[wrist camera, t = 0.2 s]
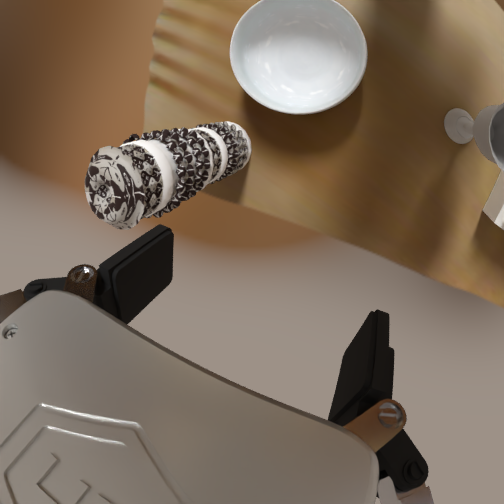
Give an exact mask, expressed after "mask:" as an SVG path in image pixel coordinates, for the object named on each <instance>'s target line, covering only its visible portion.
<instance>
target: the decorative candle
mask: <svg viewBox="0 0 504 504" xmlns="http://www.w3.org/2000/svg"><path fill="white" fill-rule="evenodd" d="M154 138H156V139H154ZM135 139H137V140H136V141H134V142H132V141H133V140H135ZM145 140H146V141H145ZM251 151H252V149H251V140H250V138H249V136H248V134H247V133H246V131H245V130H244V129H243V128H242V127H240V126H239V125H238V124H235V123H232V122H229V121H228V122H216V123H215V124H214V123H210V124H204V125H197V126H196V128H191V129H187V128H184V127H183V128H181V129H177V128H174V129H172V130H171V131H170V130H167V129H163V130H162V131H161V132H160V131H158V130H157V131H152V132H151V133H150V134H149V133H143V134H142V137H141V138H139V136H138V135H137V134H132V135H131V136H130V138H129V139H127V140H125V141H124V142H123V144H122V145H121V146H120V147H118V148H115V147H112V146H107V147H104V148H101V149H99V150H98V151H97V152H96V153H95V154H94V156H93V157H92V158H91V162H90V165H89V168H88V171H87V174H86V177H85V192H86V197H87V201H88V203H89V205H90V207H91V209H92V211H93V212H94V213H95V214H96V215H97V216H98V218H99V219H101V220H103V221H105V222H106V223H108V224H110V225H112V226H113V227H115V228H117V229H127V230H129V229H130V228H132V227H133V226H135V225H136V224H138V222H139V220H140V219H142V218H144V217H145V218H150V217H151V216H152V215H154V216H155V217H161V216H162V215H163V213H164V212H165V213H168V212H171V211H172V210H173V208H177V207H178V206H179V205H180V203H181V201H185V200H188V199H189V198H190V197H193V196H195V195H196V192H198V191H200V190H202V189H203V188H205V186H206V185H207V184H213V183H214V182H215V181H220V180H222V178H226V177H227V176H230V175H232V174H233V173H236V172H237V171H238V170H240V169H242V168H243V167H244V166H245V165H246V164H247V162H248V161H249V159H250V155H251Z"/></svg>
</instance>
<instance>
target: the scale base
mask: <svg viewBox="0 0 504 504" xmlns="http://www.w3.org/2000/svg"><path fill="white" fill-rule="evenodd" d="M483 211H484V213H485V214H486V215H487V216H488V217H489V218H490V219H491V220H492V221H493V222H494V223H495V224H496V225H498V226H499V227H500V228H502V229H503V230H504V172H503V171H502V170H501V171H500V174H499V176H498V178H497V181H496V183H495V185H494V187H493V189H492V192H491V194H490V196H489V198H488V200H487V202H486V204H485V206H484V208H483Z"/></svg>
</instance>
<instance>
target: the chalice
mask: <svg viewBox="0 0 504 504" xmlns="http://www.w3.org/2000/svg"><path fill="white" fill-rule="evenodd" d="M444 127H445V130H446V133H447V135H448V136H449V138H451V139H452V140H453V141H454V142H456V143H459V144H465V143H468V142H469V141H471V140H472V138H473V137H474V139H475V142H476V144H477V146H478V148H479V149H480V151H481V153H482V154H483V155H484V156H485V157H486V158H487V159H488V160H490V161H492V162H494V163H496V164H498V166H499V168H500V169H501V170H502V171H503V172H504V103H503V104H501V105H491V106H487V107H485V108H484V109H482V110H481V111H480V112H479V114H478V115H477V117H476V118H475V120H474V121H473V119H472V117H471V116H470V114H468V113H467V112H466V111H465V110H463V109H458V108H455V109H452V110H450V111H449V112H448V113H447V115H446V116H445V120H444Z"/></svg>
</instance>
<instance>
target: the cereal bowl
mask: <svg viewBox="0 0 504 504" xmlns="http://www.w3.org/2000/svg"><path fill="white" fill-rule="evenodd" d="M367 57H368V56H367V44H366V40H365V36H364V34H363V32H362V29H361V27H360V26H359V24H358V22H357V21H356V19H355V18H354V17H353V16H352V14H351V13H350V12H349V11H348V10H347V9H346V8H344V7H343V6H342V5H341V4H339V3H338V2H336V1H334V0H261V1H259V2H258V3H256V4H255V5H253V6H252V7H251V8H250V9H249V10H248V11H247V12H246V13H245V14H244V15H243V16H242V17H241V19H240V20H239V22H238V23H237V25H236V27H235V29H234V32H233V35H232V39H231V43H230V61H231V66H232V69H233V72H234V74H235V77H236V79H237V80H238V82H239V84H240V85H241V87H242V88H243V89H244V90H245V91H246V93H247V94H249V95H250V96H251V97H252V98H253V99H254V100H256V101H257V102H258V103H260V104H262V105H263V106H265V107H267V108H270V109H272V110H275V111H278V112H283V113H287V114H295V115H297V114H301V115H302V114H304V115H305V114H313V113H318V112H322V111H325V110H327V109H330V108H332V107H334V106H336V105H338V104H340V103H341V102H342V101H344V100H345V99H347V98H348V97H349V96H350V95H351V94H352V93H353V91H355V89H356V88H357V87H358V85H359V84H360V82H361V80H362V78H363V75H364V73H365V70H366V65H367Z"/></svg>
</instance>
